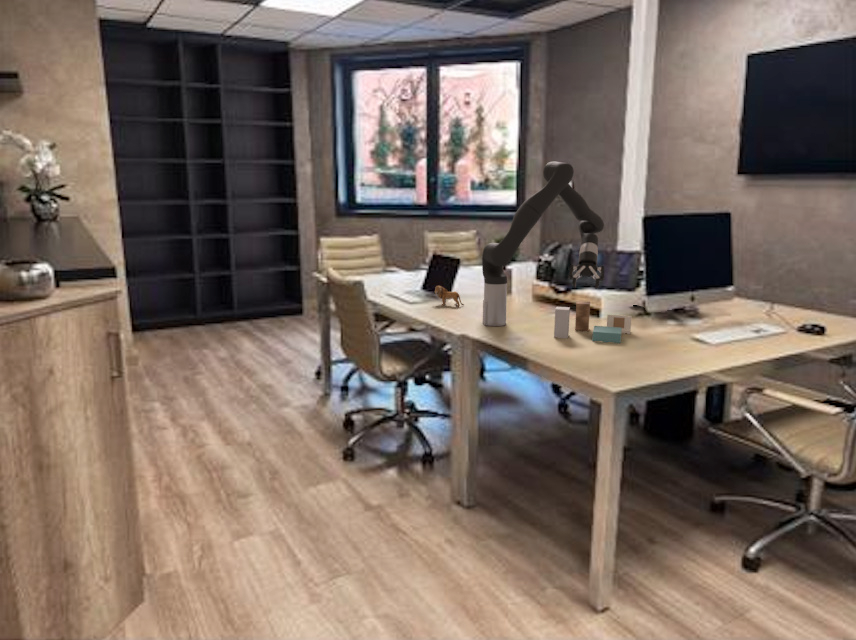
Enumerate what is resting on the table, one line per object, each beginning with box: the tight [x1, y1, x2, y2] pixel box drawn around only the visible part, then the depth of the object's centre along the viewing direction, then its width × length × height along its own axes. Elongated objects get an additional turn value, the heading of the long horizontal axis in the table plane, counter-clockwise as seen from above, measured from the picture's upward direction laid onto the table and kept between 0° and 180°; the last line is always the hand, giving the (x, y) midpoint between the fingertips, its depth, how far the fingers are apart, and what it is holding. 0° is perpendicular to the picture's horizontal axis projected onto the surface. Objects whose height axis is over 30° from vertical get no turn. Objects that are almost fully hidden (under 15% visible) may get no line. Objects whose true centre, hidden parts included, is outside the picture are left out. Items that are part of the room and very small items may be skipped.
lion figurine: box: [434, 285, 465, 308], centre depth 302 cm, size 15×5×9 cm, turn 69°
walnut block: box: [574, 300, 591, 332], centre depth 255 cm, size 5×5×11 cm
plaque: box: [606, 314, 632, 335], centre depth 252 cm, size 9×4×7 cm, turn 74°
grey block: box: [553, 306, 571, 339], centre depth 244 cm, size 5×5×11 cm
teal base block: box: [591, 325, 622, 344], centre depth 241 cm, size 10×10×4 cm
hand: (585, 287), depth 263 cm, fingers open, 8 cm apart
